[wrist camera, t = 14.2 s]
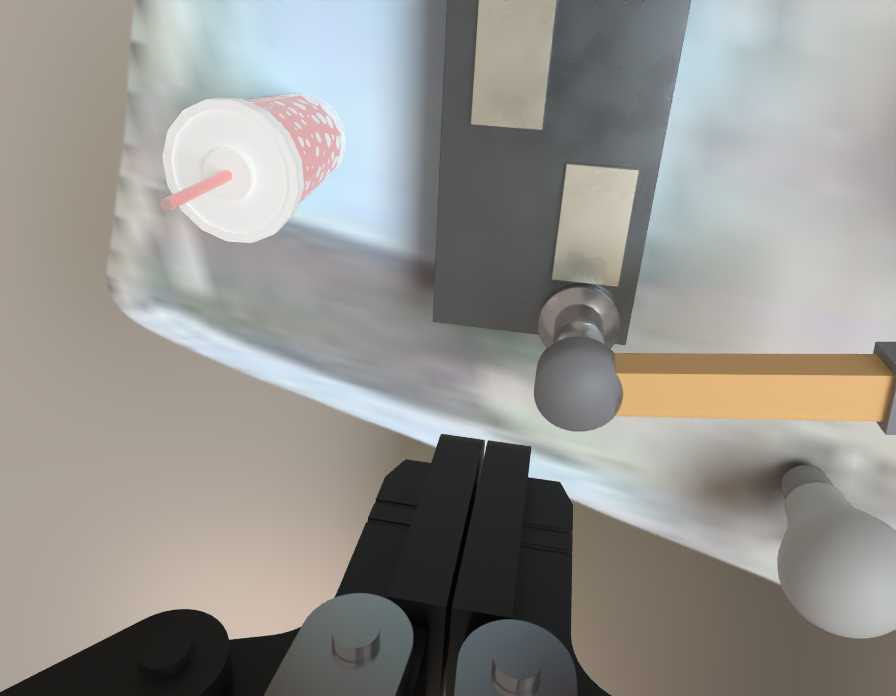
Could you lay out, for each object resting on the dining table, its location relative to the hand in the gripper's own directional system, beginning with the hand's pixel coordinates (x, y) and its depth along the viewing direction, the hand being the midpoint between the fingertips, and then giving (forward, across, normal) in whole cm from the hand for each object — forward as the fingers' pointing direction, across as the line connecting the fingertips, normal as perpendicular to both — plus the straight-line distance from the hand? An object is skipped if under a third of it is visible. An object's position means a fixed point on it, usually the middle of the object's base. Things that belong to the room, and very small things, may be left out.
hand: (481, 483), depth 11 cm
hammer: (+18, -8, +6) cm, 20 cm away
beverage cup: (+27, +13, 0) cm, 30 cm away
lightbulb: (+27, -17, +17) cm, 36 cm away
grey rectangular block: (+27, 0, -1) cm, 27 cm away
